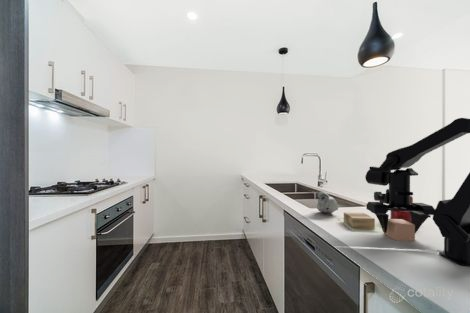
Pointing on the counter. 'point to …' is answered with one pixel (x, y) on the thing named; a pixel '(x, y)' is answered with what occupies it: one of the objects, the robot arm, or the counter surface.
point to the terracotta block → (400, 230)
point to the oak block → (359, 220)
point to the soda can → (402, 214)
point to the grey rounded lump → (326, 203)
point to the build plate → (377, 229)
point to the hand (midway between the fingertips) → (398, 232)
